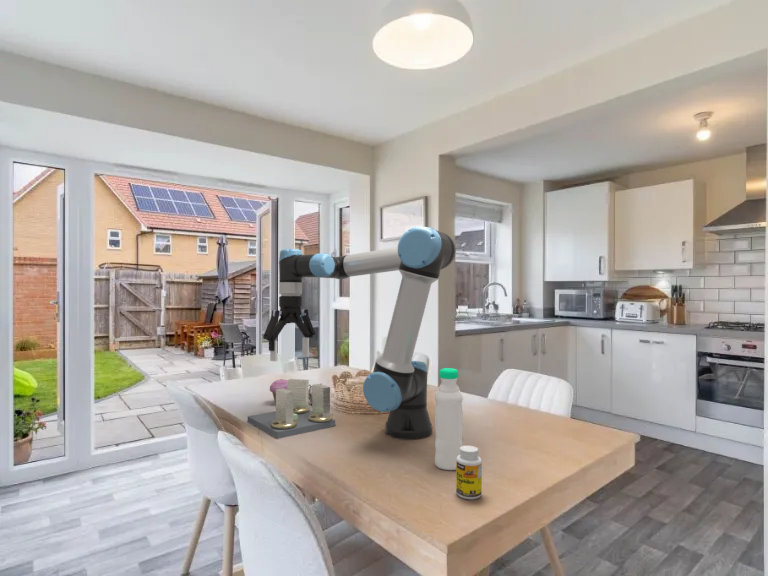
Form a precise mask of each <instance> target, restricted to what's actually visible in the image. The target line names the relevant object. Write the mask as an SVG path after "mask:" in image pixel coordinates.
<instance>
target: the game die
mask: <svg viewBox="0 0 768 576" xmlns="http://www.w3.org/2000/svg"><path fill="white" fill-rule="evenodd" d="M320 384H321V385H323V384H322V383H320ZM308 401H309V403H311V407H312V385H311V384H309V397H308Z"/></svg>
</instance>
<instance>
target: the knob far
mask: <svg viewBox="0 0 768 576" xmlns="http://www.w3.org/2000/svg"><path fill="white" fill-rule="evenodd" d="M287 380H288V384H287V390H289V391H292V392H294V395H293V413H295V414H300V413H305V412H308V411H309V410H310V406H309V399H308V397H309V388H310V386H309V385H310V384H309V383H310V382H309V381H310V380H309V379H301V378H300V379H299V378H290V379H287Z"/></svg>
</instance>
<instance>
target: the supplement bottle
mask: <svg viewBox="0 0 768 576" xmlns="http://www.w3.org/2000/svg"><path fill="white" fill-rule="evenodd" d="M482 461H483V460H482V458H481V457H480V456H479V448H478V447H476V446H475V445H474V446H473V445H462V447H460V455H458V456H457V458H456V470H455V477H456V478H455V483H456V484H455V493H456V495H457V496H458V497H460V498H462V499H464V500H465V499H466V500H476V499H477V500H478V498H481V497H482V491H483V490H482V487H483V485H482V483H483V482H482V480H483V477H482V475H483V471H482V469H483V466H482V465H483V462H482Z"/></svg>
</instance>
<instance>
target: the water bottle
mask: <svg viewBox="0 0 768 576" xmlns="http://www.w3.org/2000/svg"><path fill="white" fill-rule="evenodd" d="M439 378H440V381H441V383H440V384H439V386H438V389H437V391H436V393H435V397H434V400H435V410H434V411H435V412H434V413H435V414H434V417H435V418H434V425H435V430H434V432H435V438H434V439H435V441H434V447H435V453H434V454H435V455H434V465H436V467H437V468H439V469H441V470H445V471H456V458H457V456H458V455H460V447H462V446H463V439H462V438H463V404H462V403H463V400H464V398H463V394H462V392H461V390H460V387H459V385H458V384H457V380H458V379H459V370H458V369H456V368H452V367H444V368H441V369H440V370H439Z"/></svg>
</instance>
